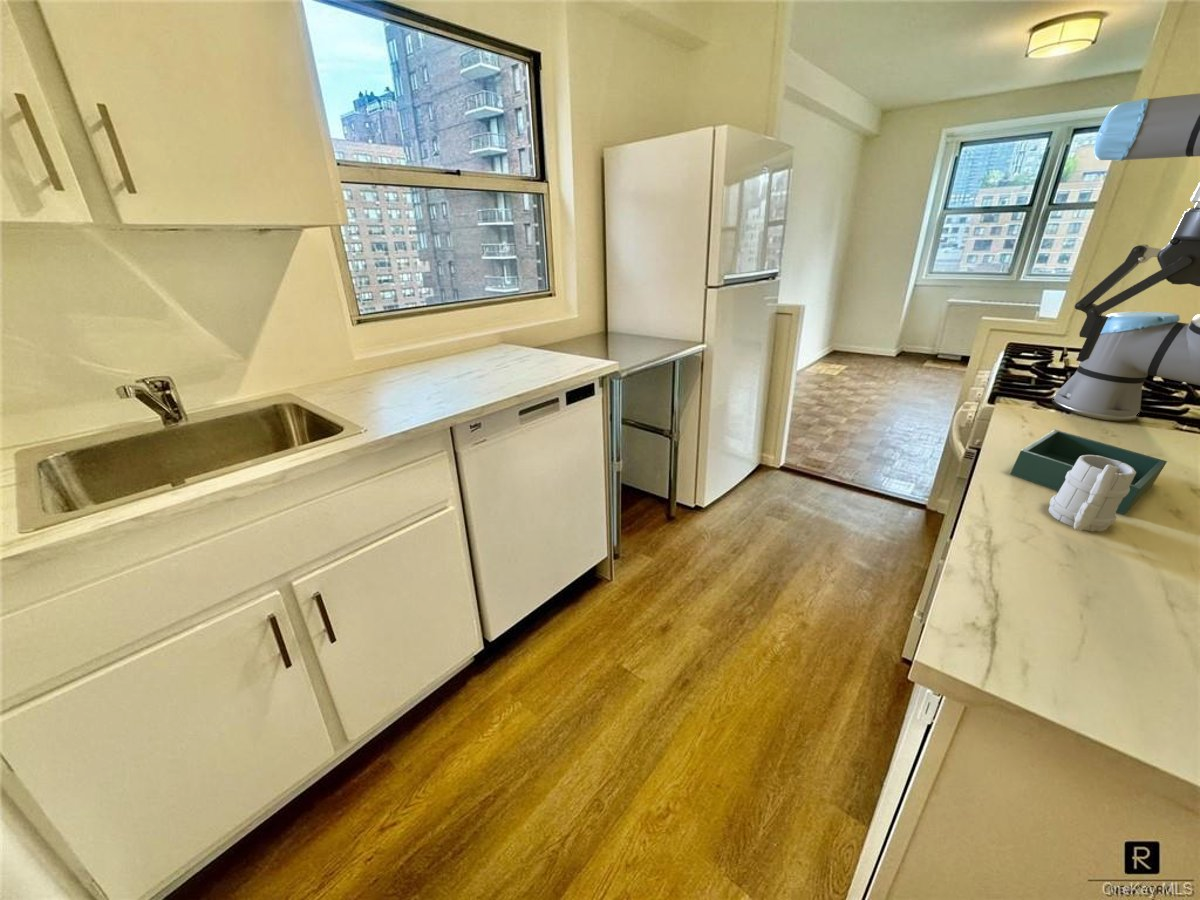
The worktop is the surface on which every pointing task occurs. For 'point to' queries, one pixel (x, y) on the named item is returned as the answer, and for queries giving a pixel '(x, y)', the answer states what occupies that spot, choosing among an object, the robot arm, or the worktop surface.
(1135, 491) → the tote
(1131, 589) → the worktop surface
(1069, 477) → the mug
